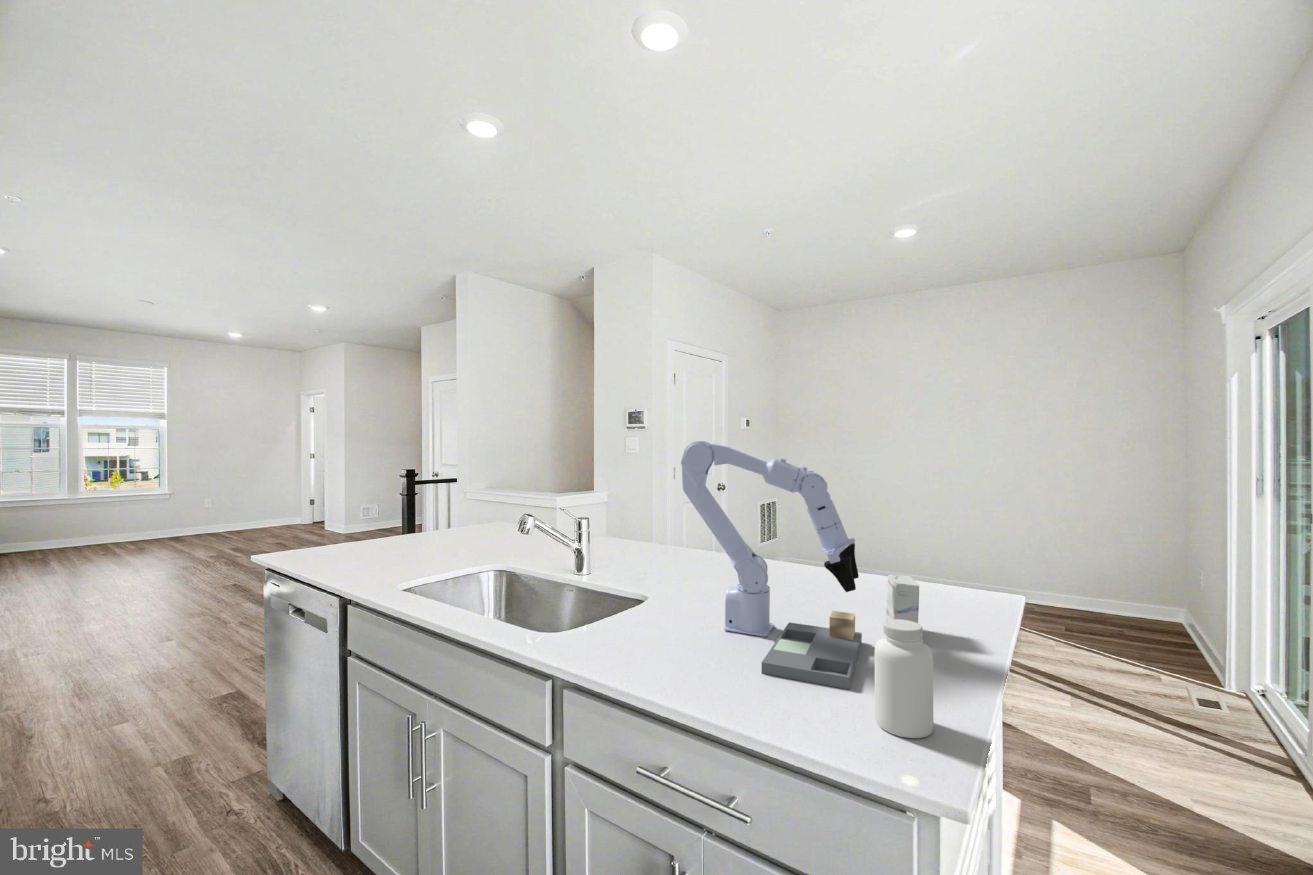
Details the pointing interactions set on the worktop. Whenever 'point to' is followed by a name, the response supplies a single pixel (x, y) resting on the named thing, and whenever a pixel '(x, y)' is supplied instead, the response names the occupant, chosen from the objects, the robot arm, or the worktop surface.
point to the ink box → (902, 598)
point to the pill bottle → (904, 680)
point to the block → (842, 625)
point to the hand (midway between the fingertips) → (852, 584)
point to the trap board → (813, 656)
